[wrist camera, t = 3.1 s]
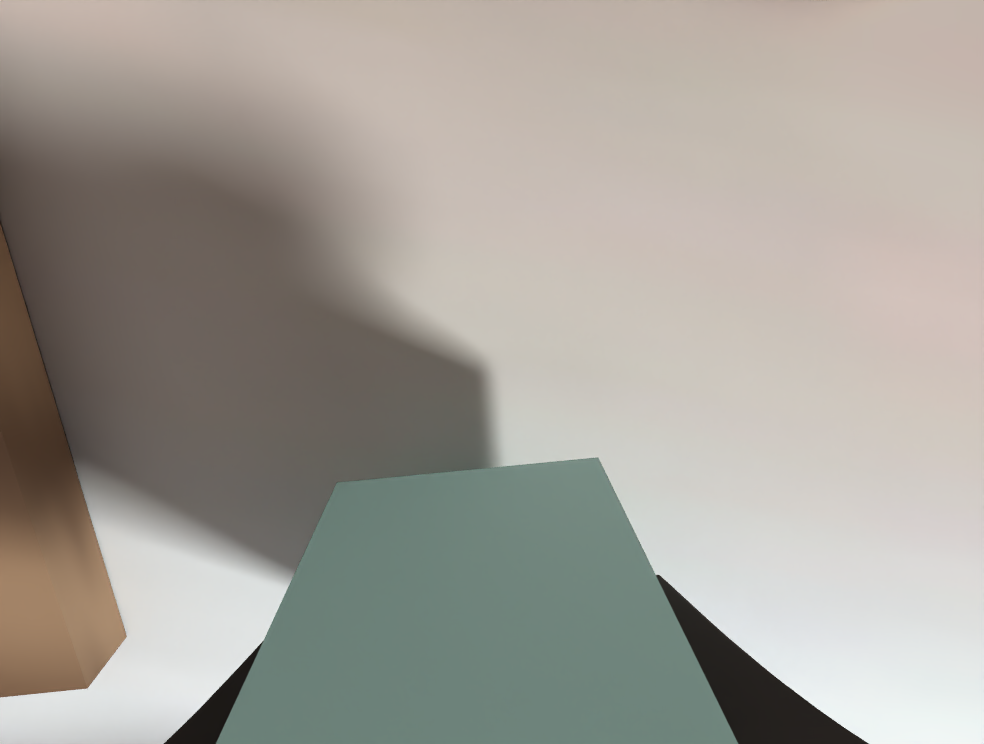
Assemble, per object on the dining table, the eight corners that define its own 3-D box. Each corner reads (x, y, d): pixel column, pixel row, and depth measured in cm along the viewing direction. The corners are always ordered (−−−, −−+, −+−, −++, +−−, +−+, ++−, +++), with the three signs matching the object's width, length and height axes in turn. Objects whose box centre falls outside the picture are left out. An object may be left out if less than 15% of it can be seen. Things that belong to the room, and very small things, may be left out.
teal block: (607, 673, 12) (736, 1117, 6) (373, 697, 12) (283, 1164, 6) (598, 457, 11) (744, 758, 5) (337, 482, 11) (182, 814, 5)
